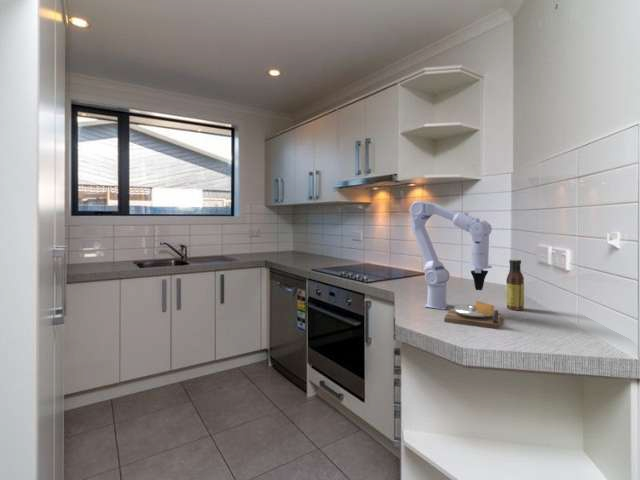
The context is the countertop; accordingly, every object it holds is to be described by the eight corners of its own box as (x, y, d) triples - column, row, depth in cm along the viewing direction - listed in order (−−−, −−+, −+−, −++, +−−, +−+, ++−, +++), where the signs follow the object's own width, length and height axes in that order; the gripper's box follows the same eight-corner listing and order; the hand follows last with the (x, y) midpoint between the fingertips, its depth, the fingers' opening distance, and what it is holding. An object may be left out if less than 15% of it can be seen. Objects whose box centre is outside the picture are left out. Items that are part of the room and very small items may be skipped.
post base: (451, 311, 136) (451, 297, 136) (500, 317, 128) (501, 302, 128) (444, 321, 122) (444, 306, 122) (499, 329, 114) (499, 312, 114)
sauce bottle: (517, 307, 144) (519, 258, 143) (527, 310, 138) (529, 260, 137) (502, 307, 144) (503, 258, 143) (511, 310, 137) (512, 260, 136)
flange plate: (488, 308, 130) (488, 297, 130) (498, 318, 117) (499, 306, 117) (451, 306, 133) (451, 295, 132) (457, 316, 120) (457, 304, 119)
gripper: (490, 255, 122) (489, 294, 123) (492, 252, 135) (491, 287, 136) (469, 254, 125) (467, 292, 126) (473, 251, 138) (472, 286, 139)
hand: (478, 289), depth 131 cm, fingers closed
